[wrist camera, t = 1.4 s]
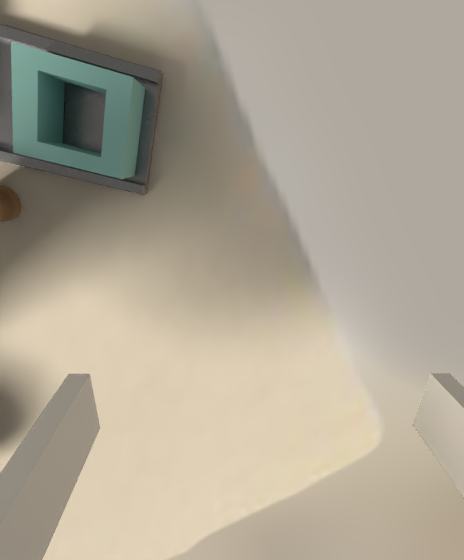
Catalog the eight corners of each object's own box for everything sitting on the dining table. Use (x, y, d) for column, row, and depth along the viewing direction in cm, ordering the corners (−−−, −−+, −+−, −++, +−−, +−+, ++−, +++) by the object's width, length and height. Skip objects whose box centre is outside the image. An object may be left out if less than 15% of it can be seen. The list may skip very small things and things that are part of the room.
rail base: (-60, 144, 27) (-148, 140, 20) (-74, 4, 23) (-186, -54, 17) (146, 193, 29) (126, 205, 23) (162, 74, 26) (144, 47, 19)
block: (41, 152, 26) (13, 152, 23) (42, 58, 24) (10, 41, 20) (134, 175, 27) (122, 179, 24) (145, 88, 25) (133, 77, 21)
